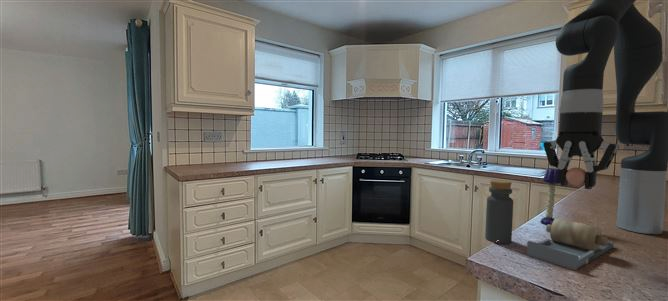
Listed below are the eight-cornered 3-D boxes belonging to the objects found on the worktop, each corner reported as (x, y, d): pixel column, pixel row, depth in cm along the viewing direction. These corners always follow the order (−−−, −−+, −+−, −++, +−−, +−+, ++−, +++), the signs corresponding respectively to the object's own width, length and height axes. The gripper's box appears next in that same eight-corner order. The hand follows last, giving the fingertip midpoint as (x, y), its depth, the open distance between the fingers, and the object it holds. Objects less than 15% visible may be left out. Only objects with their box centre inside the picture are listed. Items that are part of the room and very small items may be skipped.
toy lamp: (562, 224, 91) (565, 168, 90) (555, 227, 88) (559, 169, 87) (544, 220, 95) (546, 167, 94) (537, 223, 92) (540, 168, 91)
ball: (569, 183, 73) (570, 166, 72) (590, 185, 69) (591, 168, 69) (562, 184, 71) (563, 167, 70) (583, 187, 67) (584, 169, 67)
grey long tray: (568, 236, 81) (569, 225, 81) (613, 247, 74) (614, 234, 73) (526, 255, 68) (527, 241, 68) (575, 270, 61) (576, 255, 61)
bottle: (488, 234, 82) (490, 178, 81) (513, 239, 78) (516, 181, 77) (482, 240, 77) (485, 181, 76) (508, 246, 73) (511, 184, 72)
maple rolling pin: (542, 241, 75) (543, 218, 74) (552, 237, 78) (553, 215, 78) (600, 257, 65) (602, 231, 65) (609, 251, 69) (611, 227, 68)
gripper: (628, 110, 65) (622, 190, 66) (551, 113, 77) (547, 181, 78) (617, 108, 61) (611, 194, 62) (537, 112, 73) (533, 183, 74)
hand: (575, 186), depth 70 cm, fingers closed on ball, 4 cm apart
